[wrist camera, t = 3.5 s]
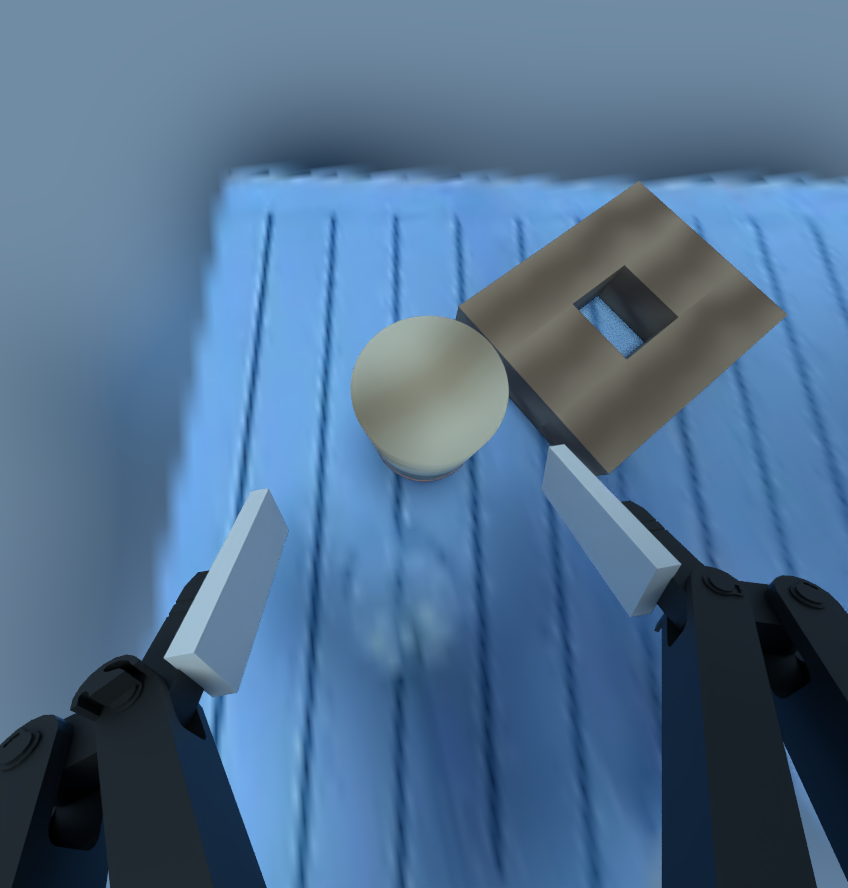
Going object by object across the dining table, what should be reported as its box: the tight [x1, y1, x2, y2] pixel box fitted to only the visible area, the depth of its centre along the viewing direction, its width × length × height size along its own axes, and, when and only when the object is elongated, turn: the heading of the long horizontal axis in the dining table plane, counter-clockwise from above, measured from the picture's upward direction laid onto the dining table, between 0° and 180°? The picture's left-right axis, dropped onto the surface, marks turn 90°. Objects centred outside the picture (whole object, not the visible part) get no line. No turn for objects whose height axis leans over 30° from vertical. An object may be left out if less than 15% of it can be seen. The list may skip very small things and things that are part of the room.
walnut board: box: [456, 181, 787, 476], centre depth 25 cm, size 16×20×4 cm
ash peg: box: [351, 316, 509, 482], centre depth 18 cm, size 7×7×11 cm
